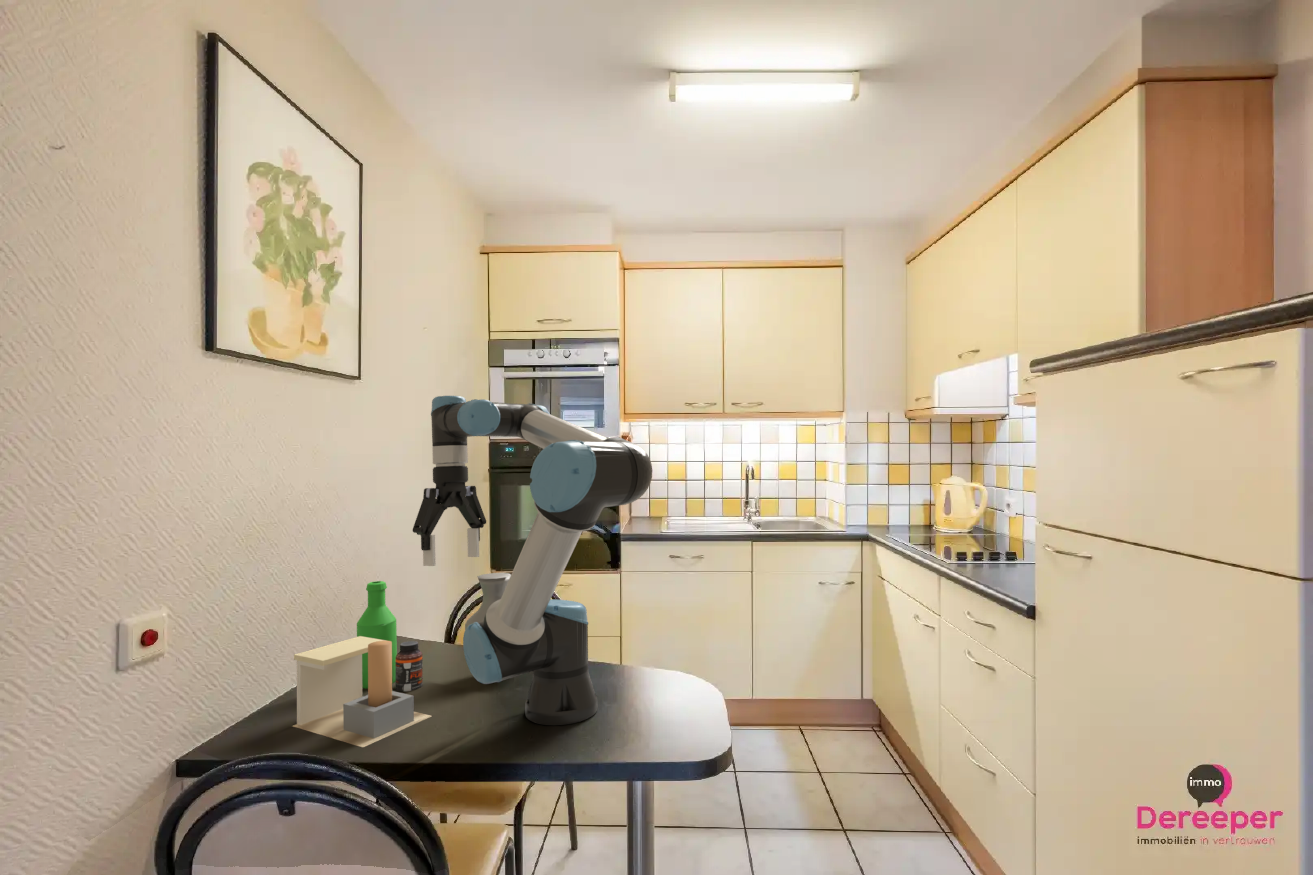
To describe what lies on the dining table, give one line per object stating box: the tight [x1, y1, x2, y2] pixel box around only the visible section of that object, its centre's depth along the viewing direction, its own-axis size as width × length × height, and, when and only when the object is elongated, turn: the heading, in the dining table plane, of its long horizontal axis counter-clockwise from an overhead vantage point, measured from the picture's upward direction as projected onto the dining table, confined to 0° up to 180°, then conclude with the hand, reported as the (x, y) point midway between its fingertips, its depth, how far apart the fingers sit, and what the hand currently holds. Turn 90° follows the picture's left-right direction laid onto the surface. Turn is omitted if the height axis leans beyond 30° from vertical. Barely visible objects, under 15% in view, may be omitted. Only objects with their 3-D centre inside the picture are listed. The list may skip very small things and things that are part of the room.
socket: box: [343, 690, 415, 739], centre depth 127 cm, size 9×9×5 cm
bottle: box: [356, 580, 398, 689], centre depth 154 cm, size 9×9×25 cm
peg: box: [367, 641, 393, 707], centre depth 128 cm, size 4×4×16 cm
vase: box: [464, 572, 512, 631], centre depth 159 cm, size 14×14×25 cm
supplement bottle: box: [395, 640, 424, 692], centre depth 149 cm, size 6×6×11 cm
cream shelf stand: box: [293, 636, 386, 725], centre depth 133 cm, size 10×15×14 cm, turn 151°
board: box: [292, 709, 433, 748], centre depth 130 cm, size 22×16×1 cm
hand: (452, 561), depth 142 cm, fingers open, 13 cm apart
